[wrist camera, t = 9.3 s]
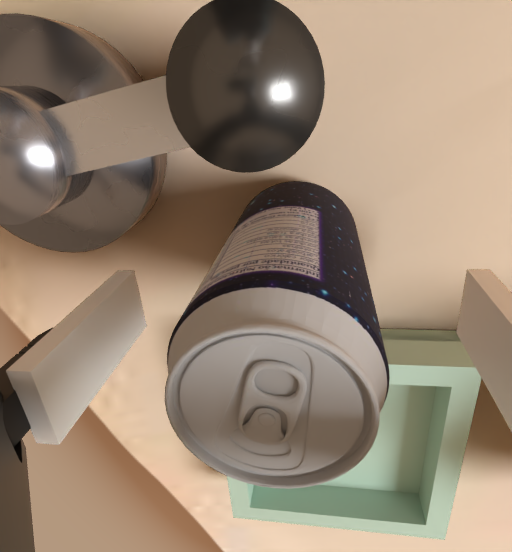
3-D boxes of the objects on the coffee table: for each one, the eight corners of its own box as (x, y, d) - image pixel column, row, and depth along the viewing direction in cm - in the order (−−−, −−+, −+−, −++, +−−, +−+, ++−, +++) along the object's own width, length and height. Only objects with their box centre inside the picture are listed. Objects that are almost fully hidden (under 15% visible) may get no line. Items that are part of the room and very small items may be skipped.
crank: (20, 212, 19) (-195, 307, 11) (-34, 101, 17) (-348, 120, 9) (332, 145, 15) (344, 213, 7) (311, -5, 13) (295, -126, 5)
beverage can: (233, 271, 21) (143, 467, 10) (250, 165, 18) (153, 282, 8) (337, 295, 21) (355, 522, 10) (370, 190, 18) (441, 348, 7)
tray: (221, 325, 23) (208, 358, 20) (462, 330, 20) (483, 367, 18) (241, 476, 28) (233, 517, 26) (432, 492, 26) (444, 539, 23)
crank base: (-63, 33, 18) (-113, 26, 16) (144, 7, 16) (118, -3, 14) (13, 239, 22) (-18, 255, 20) (181, 236, 20) (166, 253, 18)
